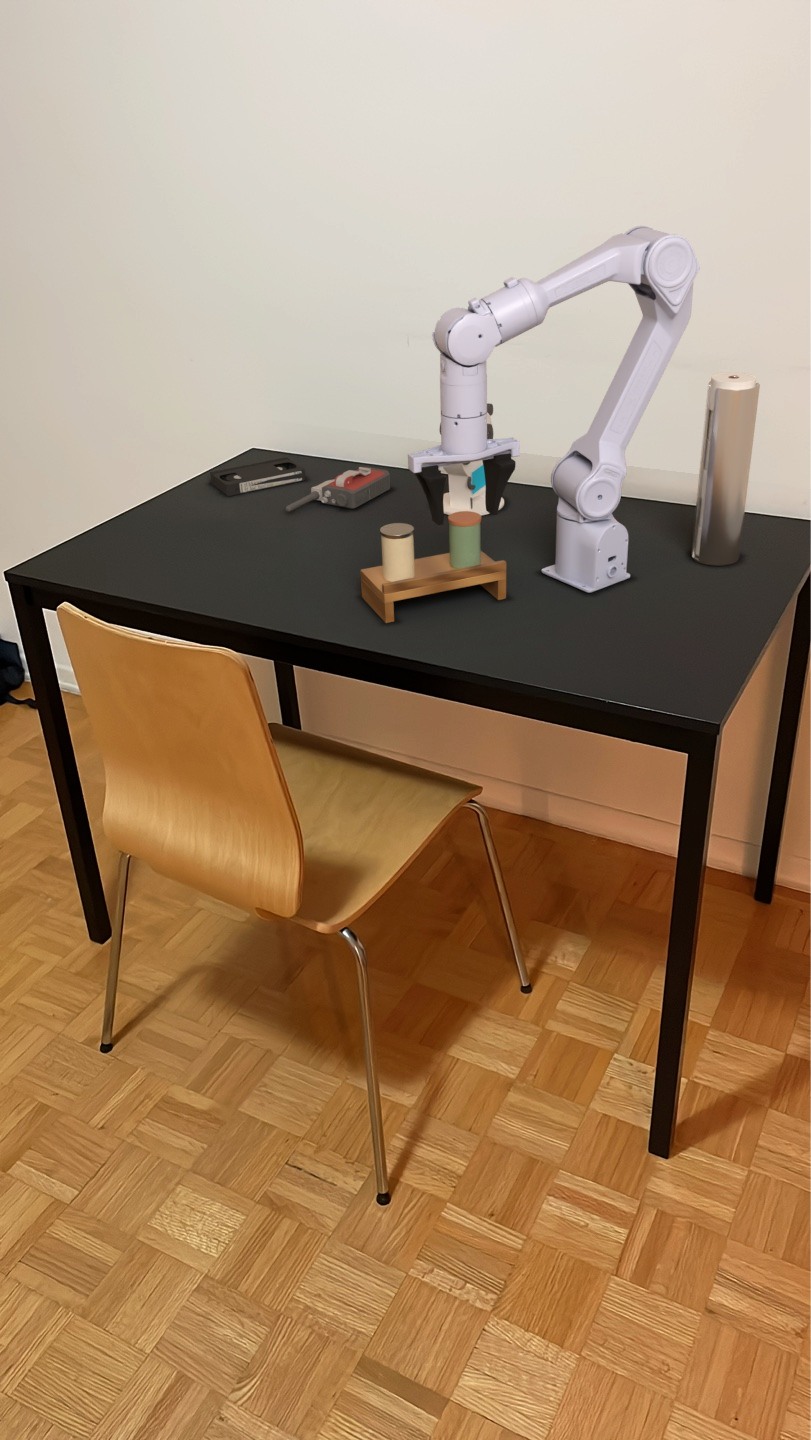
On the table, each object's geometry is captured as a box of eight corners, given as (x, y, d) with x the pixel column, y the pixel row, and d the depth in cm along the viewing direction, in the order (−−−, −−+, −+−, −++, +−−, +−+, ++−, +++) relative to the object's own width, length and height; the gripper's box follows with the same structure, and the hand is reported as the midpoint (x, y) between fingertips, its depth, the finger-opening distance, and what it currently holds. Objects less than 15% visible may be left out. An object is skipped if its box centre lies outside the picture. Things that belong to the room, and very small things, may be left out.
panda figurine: (483, 521, 174) (483, 424, 166) (418, 511, 179) (415, 416, 171) (515, 497, 183) (516, 404, 175) (452, 488, 188) (451, 397, 180)
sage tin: (488, 564, 149) (488, 517, 146) (462, 572, 147) (462, 525, 144) (467, 554, 152) (466, 508, 149) (442, 563, 150) (441, 516, 147)
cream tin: (422, 576, 147) (420, 529, 143) (395, 586, 144) (393, 537, 141) (402, 567, 150) (400, 520, 146) (375, 576, 147) (373, 528, 144)
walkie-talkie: (354, 479, 194) (282, 516, 179) (352, 454, 191) (279, 489, 177) (397, 487, 189) (327, 525, 175) (396, 461, 187) (325, 498, 173)
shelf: (477, 574, 157) (477, 538, 154) (506, 598, 149) (506, 561, 147) (361, 597, 152) (359, 560, 149) (385, 623, 144) (383, 585, 142)
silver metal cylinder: (740, 567, 155) (762, 382, 143) (691, 565, 157) (709, 381, 144) (737, 549, 161) (759, 370, 148) (690, 547, 162) (708, 369, 149)
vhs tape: (227, 496, 189) (226, 484, 188) (211, 483, 195) (209, 472, 194) (306, 480, 194) (305, 468, 193) (287, 468, 200) (286, 457, 199)
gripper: (502, 397, 145) (502, 499, 152) (397, 412, 141) (401, 516, 148) (527, 410, 139) (526, 515, 146) (418, 426, 135) (422, 534, 142)
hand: (465, 517), depth 147 cm, fingers open, 7 cm apart
